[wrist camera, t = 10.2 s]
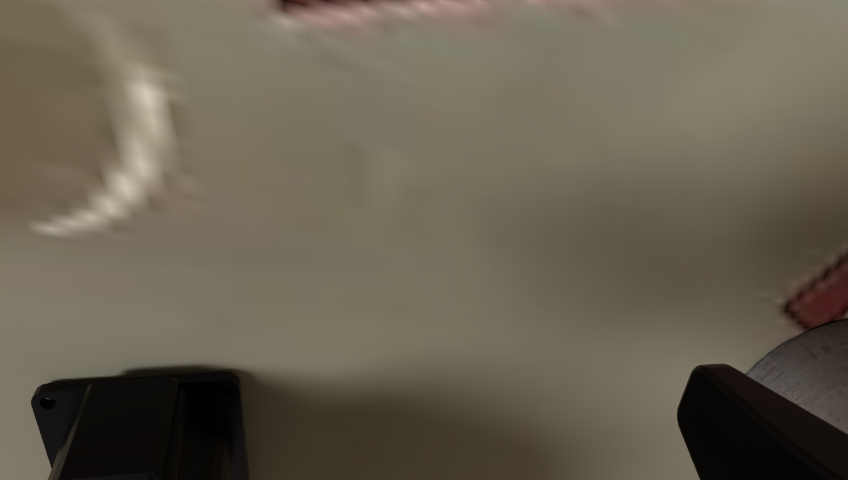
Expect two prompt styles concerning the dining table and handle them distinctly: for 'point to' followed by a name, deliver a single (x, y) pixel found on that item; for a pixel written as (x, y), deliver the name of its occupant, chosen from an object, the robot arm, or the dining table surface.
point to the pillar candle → (811, 372)
